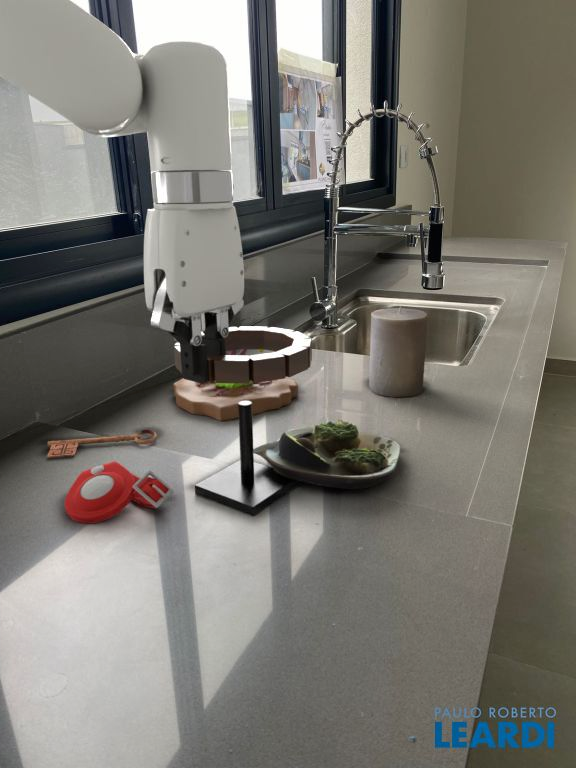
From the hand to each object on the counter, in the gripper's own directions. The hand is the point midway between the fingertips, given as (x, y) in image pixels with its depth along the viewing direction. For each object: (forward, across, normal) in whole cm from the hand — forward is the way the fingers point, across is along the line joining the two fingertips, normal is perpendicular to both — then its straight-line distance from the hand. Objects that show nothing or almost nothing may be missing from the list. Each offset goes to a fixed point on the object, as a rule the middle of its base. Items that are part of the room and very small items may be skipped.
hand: (204, 375), depth 63 cm
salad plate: (+16, -17, +5) cm, 24 cm away
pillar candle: (+17, -50, -2) cm, 53 cm away
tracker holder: (+16, +5, -10) cm, 20 cm away
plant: (+16, -30, -23) cm, 42 cm away
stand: (+16, -6, 0) cm, 17 cm away
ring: (0, -6, 0) cm, 7 cm away
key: (+16, -4, -25) cm, 30 cm away
